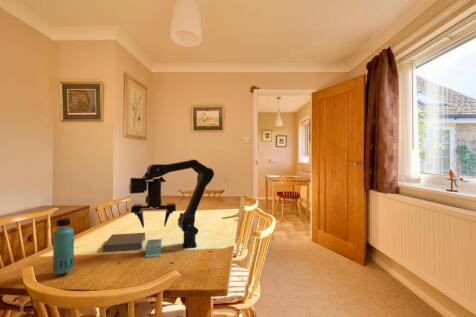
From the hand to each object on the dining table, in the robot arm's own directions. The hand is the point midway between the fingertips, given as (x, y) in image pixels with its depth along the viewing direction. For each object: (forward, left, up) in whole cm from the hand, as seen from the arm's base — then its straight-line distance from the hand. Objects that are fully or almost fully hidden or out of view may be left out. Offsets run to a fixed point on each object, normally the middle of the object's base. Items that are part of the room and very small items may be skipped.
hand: (154, 226), depth 113 cm
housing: (0, 0, -11) cm, 11 cm away
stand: (+13, +14, -11) cm, 22 cm away
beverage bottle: (-15, +30, -12) cm, 36 cm away
